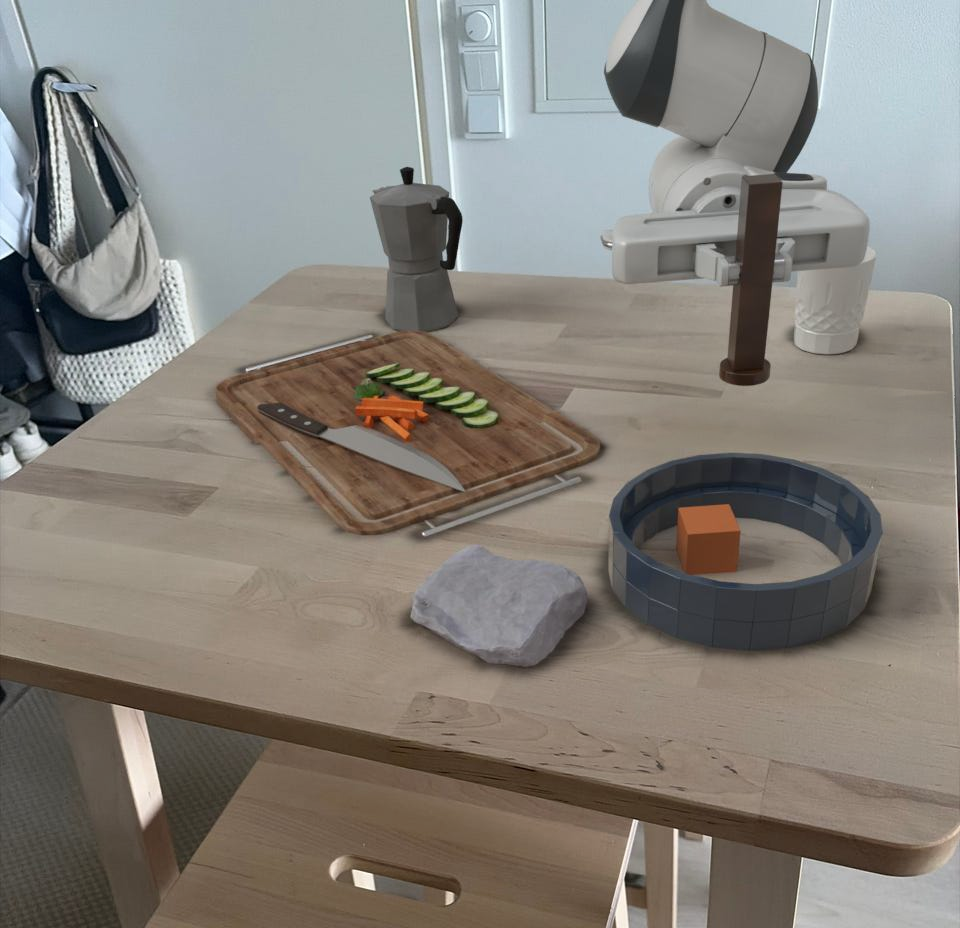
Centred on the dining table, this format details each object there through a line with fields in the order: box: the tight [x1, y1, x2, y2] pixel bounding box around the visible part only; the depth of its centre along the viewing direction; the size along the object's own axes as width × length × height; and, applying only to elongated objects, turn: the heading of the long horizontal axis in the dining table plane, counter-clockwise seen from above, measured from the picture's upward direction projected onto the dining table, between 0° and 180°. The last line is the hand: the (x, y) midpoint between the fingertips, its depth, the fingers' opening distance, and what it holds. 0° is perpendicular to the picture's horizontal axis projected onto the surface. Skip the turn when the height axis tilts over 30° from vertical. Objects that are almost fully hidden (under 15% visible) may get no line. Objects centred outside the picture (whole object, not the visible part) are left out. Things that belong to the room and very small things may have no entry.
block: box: [675, 504, 742, 576], centre depth 80 cm, size 4×4×4 cm
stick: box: [718, 174, 783, 387], centre depth 79 cm, size 4×4×15 cm
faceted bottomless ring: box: [607, 452, 884, 652], centre depth 78 cm, size 20×20×6 cm
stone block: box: [410, 544, 589, 668], centre depth 77 cm, size 12×5×10 cm
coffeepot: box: [369, 166, 464, 333], centre depth 124 cm, size 15×9×18 cm, turn 43°
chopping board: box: [214, 330, 601, 538], centre depth 105 cm, size 45×27×3 cm, turn 30°
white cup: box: [793, 245, 878, 355], centre depth 112 cm, size 8×8×10 cm
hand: (756, 273), depth 77 cm, fingers closed on stick, 2 cm apart
